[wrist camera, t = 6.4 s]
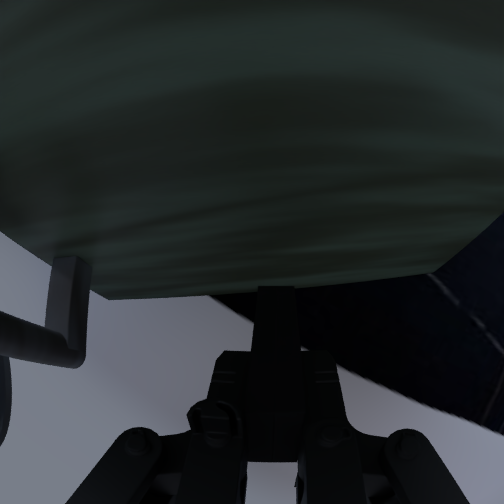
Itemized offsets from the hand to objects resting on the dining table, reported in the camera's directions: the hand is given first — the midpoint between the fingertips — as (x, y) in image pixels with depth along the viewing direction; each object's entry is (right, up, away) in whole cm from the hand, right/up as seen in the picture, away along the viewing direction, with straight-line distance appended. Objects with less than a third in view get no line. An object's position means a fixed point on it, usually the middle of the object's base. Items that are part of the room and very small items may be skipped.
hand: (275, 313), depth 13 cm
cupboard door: (+1, -2, +8) cm, 8 cm away
